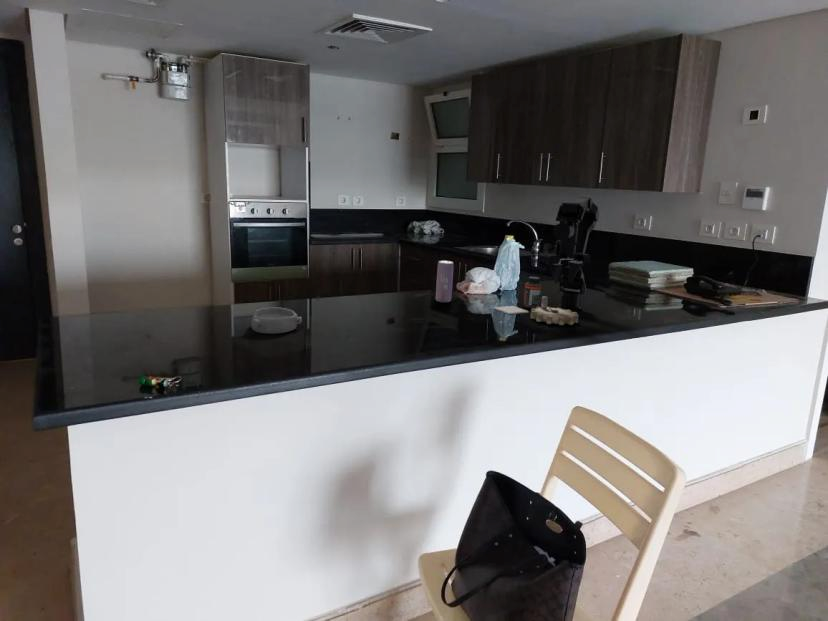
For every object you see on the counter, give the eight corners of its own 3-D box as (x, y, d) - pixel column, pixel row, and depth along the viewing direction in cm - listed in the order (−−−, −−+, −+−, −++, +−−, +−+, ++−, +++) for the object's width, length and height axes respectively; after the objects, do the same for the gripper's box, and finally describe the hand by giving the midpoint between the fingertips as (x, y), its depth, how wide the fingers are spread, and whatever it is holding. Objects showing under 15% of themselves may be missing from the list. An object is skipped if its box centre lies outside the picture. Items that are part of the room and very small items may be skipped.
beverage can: (451, 299, 221) (454, 261, 217) (450, 303, 215) (453, 263, 212) (435, 298, 221) (438, 260, 218) (434, 301, 215) (437, 262, 212)
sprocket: (555, 312, 208) (557, 294, 206) (587, 323, 194) (590, 304, 193) (520, 315, 200) (522, 296, 199) (551, 326, 187) (554, 307, 185)
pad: (512, 307, 214) (513, 305, 214) (528, 312, 206) (528, 311, 206) (493, 308, 210) (493, 307, 210) (508, 314, 202) (508, 313, 202)
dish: (255, 337, 159) (255, 319, 158) (244, 324, 171) (244, 308, 170) (305, 333, 166) (305, 316, 165) (292, 321, 178) (292, 305, 177)
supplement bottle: (521, 304, 219) (524, 275, 216) (536, 305, 219) (539, 276, 217) (525, 308, 213) (528, 278, 210) (541, 309, 214) (544, 279, 211)
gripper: (571, 235, 210) (566, 277, 213) (532, 235, 201) (527, 279, 204) (594, 239, 200) (588, 283, 204) (553, 239, 191) (548, 285, 195)
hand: (563, 282), depth 202 cm, fingers open, 6 cm apart
